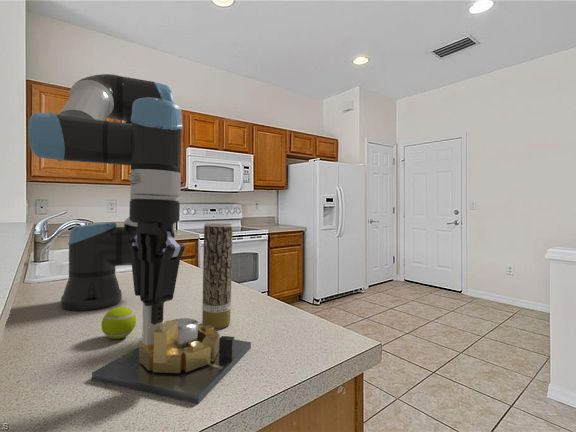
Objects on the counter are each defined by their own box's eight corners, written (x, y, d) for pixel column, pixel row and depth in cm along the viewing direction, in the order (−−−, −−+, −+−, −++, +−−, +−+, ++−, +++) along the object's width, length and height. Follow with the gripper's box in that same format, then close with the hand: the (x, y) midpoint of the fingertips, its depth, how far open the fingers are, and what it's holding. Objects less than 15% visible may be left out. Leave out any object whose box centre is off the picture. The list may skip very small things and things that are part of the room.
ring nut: (160, 338, 66) (160, 300, 66) (224, 340, 66) (225, 302, 66) (117, 380, 50) (117, 330, 50) (201, 383, 50) (202, 333, 50)
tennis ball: (137, 340, 69) (138, 309, 68) (101, 346, 65) (102, 314, 65) (134, 329, 74) (134, 301, 74) (100, 335, 71) (101, 305, 71)
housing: (91, 379, 53) (92, 336, 53) (168, 334, 72) (169, 303, 72) (198, 403, 47) (199, 355, 47) (251, 347, 66) (251, 313, 66)
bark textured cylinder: (235, 322, 81) (237, 223, 80) (221, 332, 74) (223, 225, 74) (212, 318, 83) (214, 222, 82) (196, 327, 77) (198, 223, 76)
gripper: (112, 196, 53) (109, 337, 53) (156, 198, 45) (152, 362, 46) (154, 198, 59) (151, 324, 59) (199, 199, 51) (195, 344, 52)
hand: (152, 341), depth 53 cm, fingers closed
